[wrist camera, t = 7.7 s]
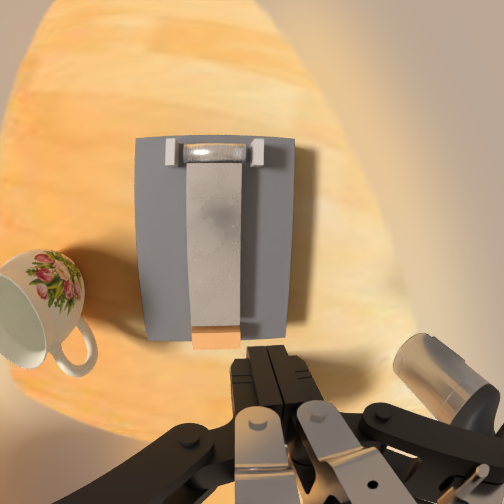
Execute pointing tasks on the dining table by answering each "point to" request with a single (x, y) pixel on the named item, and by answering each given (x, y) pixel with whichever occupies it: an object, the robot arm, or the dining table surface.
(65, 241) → the dining table surface
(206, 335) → the block
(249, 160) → the block
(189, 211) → the metal hinged lever
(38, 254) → the pitcher
